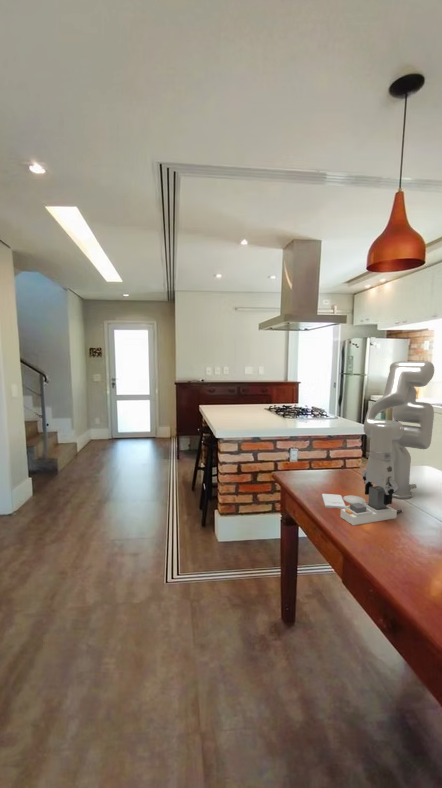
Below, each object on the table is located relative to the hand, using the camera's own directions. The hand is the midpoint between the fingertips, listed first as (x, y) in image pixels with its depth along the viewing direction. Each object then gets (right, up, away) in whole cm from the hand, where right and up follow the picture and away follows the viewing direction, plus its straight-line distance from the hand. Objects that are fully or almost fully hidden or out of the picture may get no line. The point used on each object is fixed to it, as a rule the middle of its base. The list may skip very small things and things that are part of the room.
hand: (377, 499), depth 129 cm
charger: (0, -4, 0) cm, 4 cm away
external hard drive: (-12, -6, +14) cm, 20 cm away
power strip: (-1, -7, 0) cm, 7 cm away
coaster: (-3, -5, +15) cm, 17 cm away
